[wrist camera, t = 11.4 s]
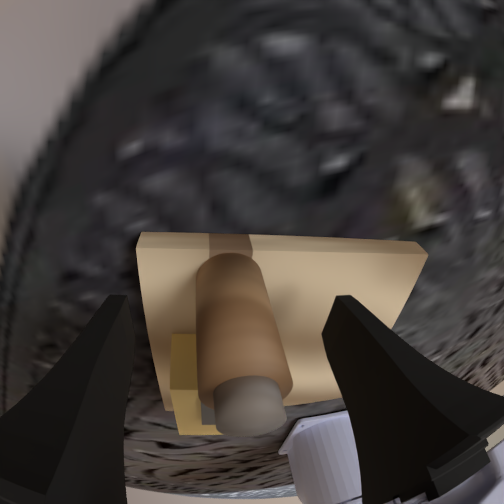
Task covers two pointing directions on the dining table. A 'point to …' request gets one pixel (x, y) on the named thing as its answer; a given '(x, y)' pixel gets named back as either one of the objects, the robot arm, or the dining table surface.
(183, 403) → the stud finder
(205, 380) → the brown gray-topped cylinder
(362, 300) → the plywood panel
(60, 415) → the robot arm
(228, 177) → the dining table surface
